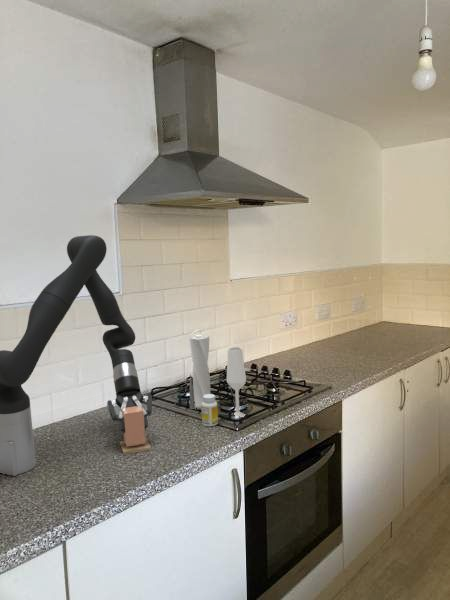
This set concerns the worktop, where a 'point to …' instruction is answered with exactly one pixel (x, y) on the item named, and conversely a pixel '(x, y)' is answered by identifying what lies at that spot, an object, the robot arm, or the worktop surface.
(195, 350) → the skyscraper
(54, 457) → the worktop surface
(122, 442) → the post
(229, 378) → the champagne flute
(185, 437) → the worktop surface
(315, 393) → the worktop surface
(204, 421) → the supplement bottle
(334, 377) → the worktop surface
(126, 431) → the brown upright block
